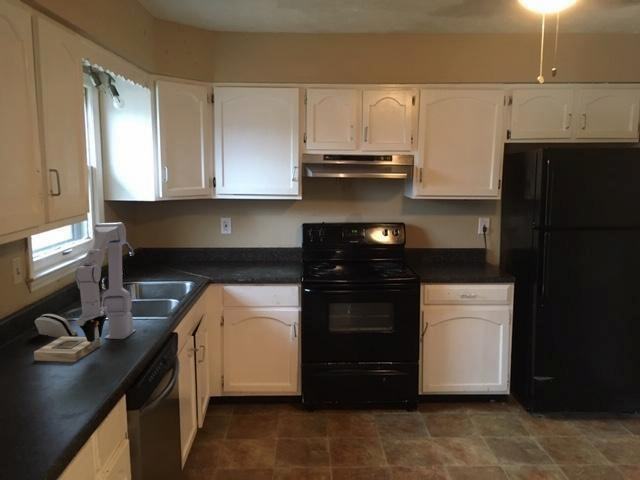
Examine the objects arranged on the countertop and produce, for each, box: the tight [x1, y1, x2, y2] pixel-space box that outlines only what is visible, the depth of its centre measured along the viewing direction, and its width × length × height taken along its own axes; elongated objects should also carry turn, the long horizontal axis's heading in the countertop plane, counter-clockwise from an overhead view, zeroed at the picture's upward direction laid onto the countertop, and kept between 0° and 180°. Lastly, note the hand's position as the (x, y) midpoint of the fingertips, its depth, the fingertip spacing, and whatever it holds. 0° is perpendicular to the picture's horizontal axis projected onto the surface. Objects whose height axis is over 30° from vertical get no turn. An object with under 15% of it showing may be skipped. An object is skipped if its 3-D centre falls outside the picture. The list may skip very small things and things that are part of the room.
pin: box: [90, 320, 101, 346], centre depth 168 cm, size 4×4×8 cm
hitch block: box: [33, 336, 101, 363], centre depth 175 cm, size 15×15×3 cm
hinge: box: [34, 313, 79, 339], centre depth 192 cm, size 17×5×10 cm, turn 64°
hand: (94, 339), depth 168 cm, fingers closed on pin, 3 cm apart
